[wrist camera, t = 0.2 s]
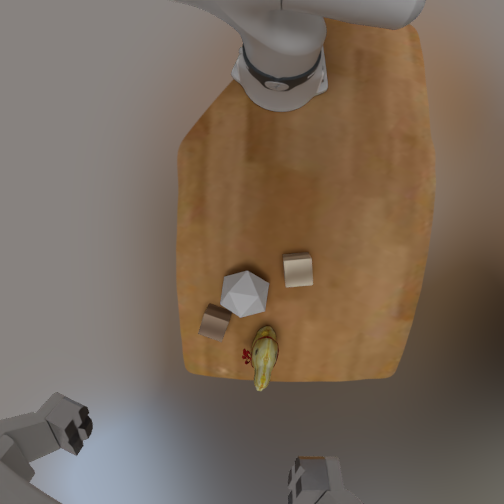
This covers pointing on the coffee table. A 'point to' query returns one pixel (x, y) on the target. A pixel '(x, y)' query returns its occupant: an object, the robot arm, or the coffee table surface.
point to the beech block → (297, 269)
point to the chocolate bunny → (263, 356)
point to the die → (244, 294)
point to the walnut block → (215, 322)
